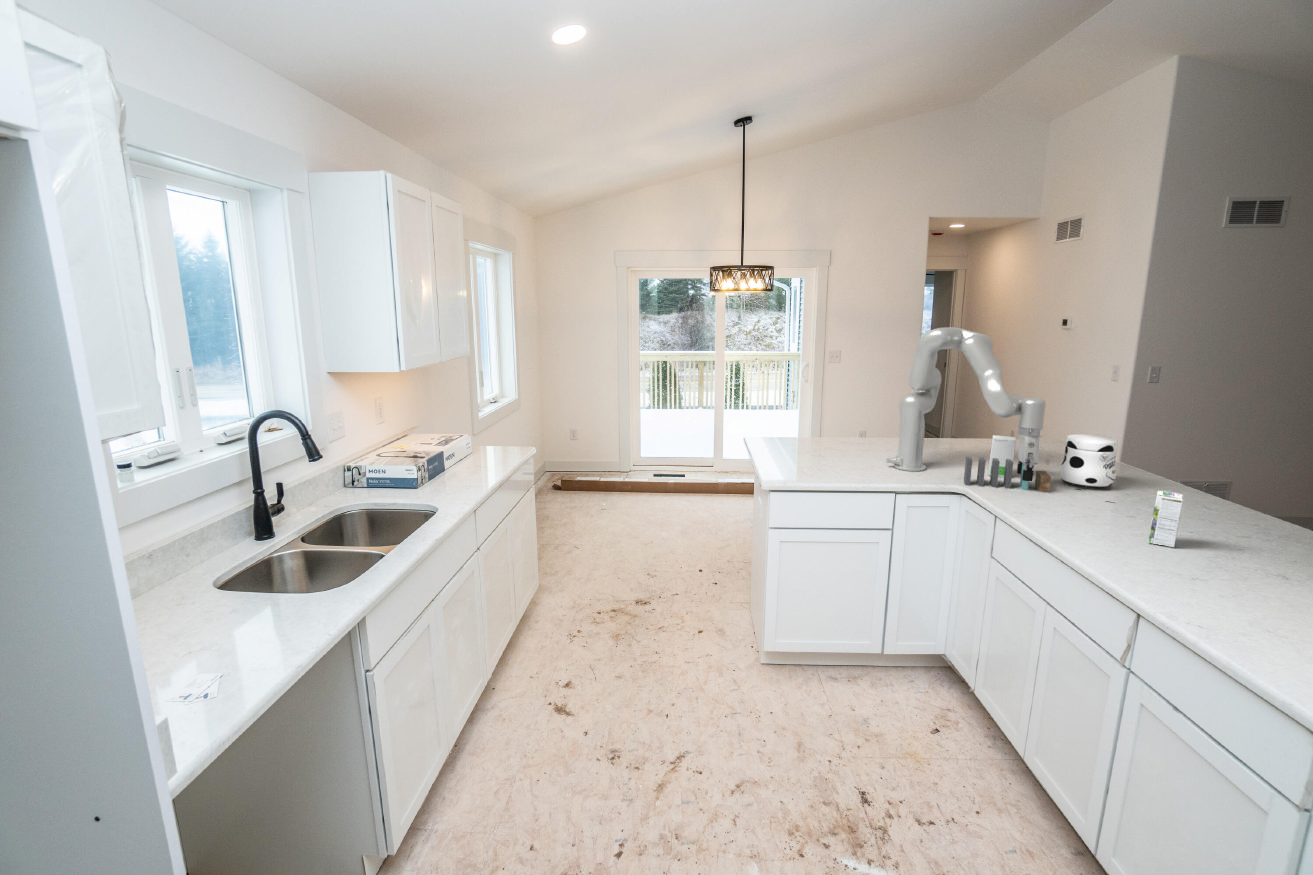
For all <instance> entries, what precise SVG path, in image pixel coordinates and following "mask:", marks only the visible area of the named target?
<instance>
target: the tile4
mask: <svg viewBox="0 0 1313 875" xmlns="http://www.w3.org/2000/svg"><path fill="white" fill-rule="evenodd" d="M1013 468H1014V461H1012V460H1011V459H1006V463H1005V473H1004V477H1003V482H1002V483H1003V484H1002V485H1003V486H1004V488H1005V489H1011V488H1012V479H1013V478H1012V476H1013Z"/></svg>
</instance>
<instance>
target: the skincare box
mask: <svg viewBox="0 0 1313 875" xmlns="http://www.w3.org/2000/svg"><path fill="white" fill-rule="evenodd" d="M1016 446H1017V438H1016V437H1014V436H1008V435H1007V436H1006V435H992V440H991V446H990V447H991V449H990V456H989V462H988V463H989V464H988V471H987V472H988V476H989V477H991V469H992V460H993V458H997V459H998V460H999V461H1000V464H999V473H998V478H1004V473H1005V463H1006V459H1011V460H1012V461H1013V462H1014V461H1015V459H1014V458H1015V452H1016Z"/></svg>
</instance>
